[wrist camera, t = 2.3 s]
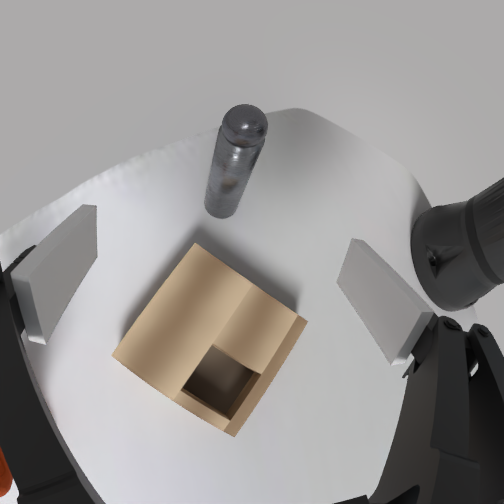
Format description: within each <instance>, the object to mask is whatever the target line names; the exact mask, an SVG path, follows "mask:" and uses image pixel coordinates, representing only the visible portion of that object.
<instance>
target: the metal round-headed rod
mask: <svg viewBox="0 0 504 504" xmlns="http://www.w3.org/2000/svg"><path fill="white" fill-rule="evenodd" d="M267 130H268V122H267V119H266V117H265V115H264V113H263V112H262V111H261V110H260V109H258V108H257V107H255V106H252V105H248V104H242V105H237V106H235V107H233V108H231V109H230V110H229V111H228V112H227V113H226V115H225V116H224V118H223V121H222V125H221V127H220V129H219V132H218V137H217V142H216V146H215V151H214V156H213V161H212V166H211V171H210V176H209V181H208V186H207V191H206V197H205V208H206V210H207V212H208V213H209V214H210V215H212V216H213V217H216V218H221V219H223V218H228V217H230V216H232V215H233V214H234V213H235V211H236V209H237V206H238V204H239V202H240V199H241V197H242V194H243V192H244V189H245V187H246V185H247V182H248V180H249V177H250V175H251V173H252V170H253V168H254V166H255V163H256V161H257V159H258V156H259V154H260V152H261V149H262V147H263V145H264V142H265V136H266V134H267Z"/></svg>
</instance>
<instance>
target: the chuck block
mask: <svg viewBox="0 0 504 504" xmlns="http://www.w3.org/2000/svg"><path fill="white" fill-rule="evenodd" d="M307 322H308V321H306V320H305V319H304V318H302V317H301V316H299V315H298V314H296V313H295V312H293V311H292V310H290V309H289V308H287V307H286V306H284V305H283V304H282V303H280V302H279V301H277V300H276V299H274V298H273V297H271V296H270V295H269V294H267V293H266V292H264V291H263V290H261V289H260V288H258V287H257V286H256V285H254V284H253V283H251V282H250V281H248V280H247V279H246V278H244V277H243V276H241V275H240V274H238V273H237V272H236V271H234V270H233V269H231V268H230V267H229V266H227V265H226V264H224V263H223V262H222V261H220V260H219V259H217V258H216V257H214V256H213V255H212V254H210V253H209V252H208V251H206V250H205V249H203V248H202V247H201V246H199V245H198V244H196V243H194V245H193V246H192V247H191V248H190V250H189V251H188V252H187V253H186V255H185V256H184V257H183V259H182V260H181V261H180V262H179V264H178V265H177V266H176V268H175V269H174V270H173V272H172V273H171V274H170V275H169V277H168V278H167V279H166V281H165V282H164V283H163V285H162V286H161V287H160V289H159V290H158V291H157V293H156V294H155V295H154V297H153V298H152V299H151V301H150V302H149V303H148V305H147V306H146V307H145V309H144V310H143V311H142V313H141V314H140V316H139V317H138V318H137V320H136V321H135V322H134V324H133V325H132V327H131V328H130V329H129V331H128V332H127V334H126V335H125V336H124V338H123V339H122V341H121V342H120V343H119V345H118V346H117V348H116V349H115V351H114V352H113V353H112V355H111V356H112V357H114V358H115V359H116V360H117V361H119V362H120V363H121V364H122V365H124V366H125V367H126V368H128V369H129V370H130V371H132V372H133V373H134V374H136V375H137V376H138V377H140V378H141V379H142V380H144V381H145V382H146V383H148V384H149V385H151V386H152V387H153V388H155V389H156V390H158V391H159V392H161V393H162V394H163V395H165V396H166V397H168V398H169V399H171V400H172V401H174V402H175V403H177V404H179V405H180V406H182V407H183V408H185V409H186V410H188V411H190V412H191V413H193V414H194V415H196V416H198V417H199V418H201V419H203V420H204V421H206V422H208V423H210V424H211V425H213V426H215V427H217V428H218V429H220V430H222V431H224V432H226V433H227V434H229V435H231V436H233V437H235V436H236V434H237V433H238V431H239V430H240V429H241V427H242V426H243V424H244V423H245V421H246V420H247V418H248V417H249V415H250V414H251V413H252V411H253V410H254V408H255V407H256V405H257V404H258V402H259V401H260V399H261V398H262V396H263V394H264V393H265V391H266V390H267V388H268V387H269V385H270V384H271V382H272V380H273V379H274V377H275V376H276V374H277V373H278V371H279V369H280V368H281V366H282V364H283V363H284V361H285V360H286V358H287V356H288V355H289V353H290V351H291V350H292V348H293V346H294V345H295V343H296V341H297V340H298V338H299V336H300V334H301V333H302V331H303V329H304V328H305V326H306V324H307Z"/></svg>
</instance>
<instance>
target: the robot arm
mask: <svg viewBox="0 0 504 504" xmlns="http://www.w3.org/2000/svg"><path fill="white" fill-rule="evenodd" d="M411 247H412V257H413V262H414V266H415V270H416V273H417V276H418V278H419V281H420V283H421V285H422V287H423V289H424V290H425V292H426V294H427V295H428V296H429V298H430V299H431V300H432V301H433V302H434V303H435V304H436V305H437V306H438V307H440V308H442V309H444V310H446V311H458V310H462V309H466V308H468V307H470V306H472V305H473V304H474V303H476V301H477V300H478V299H479V298H480V297H482V296H484V295H485V294H487V293H488V292H489V291H491V290H492V289H493V288H494V287H496V286H497V285H500V284H502V283H504V178H502V179H501V180H499V181H498V182H496V183H495V184H493V185H492V186H490V187H489V188H487V189H485V190H484V191H482V192H480V193H479V194H478V195H476V196H474V197H473V198H471V199H469V200H468V201H464V202H459V203H453V204H449V205H444V206H436V207H433V208H431V209H430V210H428V211H426V212H425V213H423V214H422V215H421V216H420V217H419V218H418V219H417V221H416V222H415V225H414V228H413V232H412V240H411ZM96 258H97V206H94V205H84V204H83V205H82V206H80V207H79V208H78V209H77V210H76V211H74V212H73V213H72V214H71V215H70V216H69V217H68V218H66V219H65V220H64V221H63V222H62V223H61V224H60V225H59V226H57V227H56V228H55V229H54V230H53V231H52V232H51V233H50V234H49V235H48V236H47V237H46V238H45V239H44V240H42V241H41V242H40V243H39V244H38V245H34V246H32V247H30V248H28V249H26V250H25V251H24V252H22V253H21V254H20V255H19V257H18V258H16V259H15V260H14V261H13V263H11V264H10V266H9V267H8V268H7V269H6V270H5V271H4V272H2V268H1V263H0V447H1V449H2V452H3V455H4V457H5V460H6V462H7V465H8V467H9V470H10V472H11V474H12V477H13V479H14V481H15V483H16V485H17V488H18V490H19V496H18V498H17V502H18V504H105V502H104V501H103V500H102V499H101V497H100V496H99V494H98V493H97V492H96V490H95V489H94V487H93V486H92V484H91V483H90V482H89V480H88V479H87V477H86V476H85V474H84V472H83V471H82V469H81V468H80V466H79V465H78V463H77V461H76V460H75V458H74V456H73V455H72V453H71V451H70V449H69V448H68V446H67V444H66V442H65V441H64V439H63V437H62V435H61V433H60V431H59V429H58V427H57V425H56V423H55V421H54V419H53V417H52V415H51V413H50V411H49V409H48V407H47V404H46V402H45V400H44V398H43V395H42V393H41V391H40V388H39V386H38V383H37V381H36V378H35V376H34V373H33V370H32V368H31V365H30V362H29V359H28V356H27V353H26V350H25V347H24V344H23V341H22V338H21V334H22V332H23V330H24V329H26V332H27V335H28V338H29V340H30V341H33V342H37V343H41V344H45V345H46V344H47V342H48V340H49V338H50V336H51V334H52V332H53V331H54V329H55V327H56V325H57V323H58V321H59V319H60V318H61V316H62V314H63V312H64V311H65V309H66V307H67V305H68V304H69V302H70V300H71V298H72V297H73V295H74V293H75V292H76V290H77V288H78V287H79V285H80V283H81V282H82V280H83V279H84V277H85V275H86V274H87V272H88V271H89V269H90V267H91V266H92V264H93V263H94V261H95V260H96ZM337 284H338V285H339V287H340V288H341V290H342V291H343V293H344V294H345V295H346V297H347V298H348V300H349V301H350V303H351V304H352V306H353V307H354V309H355V310H356V312H357V313H358V315H359V316H360V318H361V319H362V321H363V322H364V324H365V325H366V327H367V329H368V330H369V332H370V333H371V335H372V336H373V338H374V339H375V341H376V342H377V344H378V346H379V347H380V349H381V350H382V352H383V353H384V355H385V357H386V358H387V360H388V361H389V363H390V365H397V364H404V363H405V361H406V360H407V358H408V356H409V355H410V353H412V355H413V356H414V360H413V361H412V363H411V364H410V366H409V367H408V369H407V370H406V372H405V373H404V375H403V377H402V378H405V376H406V375H408V379H407V380H408V381H407V386H406V390H405V395H404V400H403V404H402V408H401V412H400V416H399V420H398V424H397V428H396V432H395V435H394V439H393V442H392V445H391V449H390V452H389V455H388V458H387V461H386V464H385V467H384V470H383V473H382V476H381V478H380V481H379V484H378V486H377V488H376V490H375V492H374V493H373V495H372V496H371V497H370V498H369V499H368V498H367V496H366V495H363V496H360V497H357V498H353V499H349V500H346V501H342V502H338V503H334V504H504V357H503V355H502V353H501V351H500V349H499V347H498V345H497V343H496V341H495V339H494V337H493V335H492V334H491V332H490V331H489V330H488V328H487V327H485V326H483V325H480V324H476V323H475V324H473V325H472V327H471V329H470V330H469V332H465V331H463V330H462V327H461V326H460V325H459V324H458V323H457V322H456V321H455V320H454V319H451V318H449V317H446V316H440V317H438V316H437V315H436V314H435V313H434V311H433V310H432V309H431V308H430V307H429V305H428V304H427V303H426V302H425V301H424V300H423V299H422V298H421V297H420V296H419V295H418V294H417V293H416V292H415V291H414V290H413V289H412V288H411V287H410V286H409V284H408V283H407V282H406V281H405V280H404V279H403V278H402V277H401V276H400V275H399V274H398V273H397V272H396V271H395V270H394V269H393V268H392V267H391V266H390V265H389V264H388V263H387V262H386V261H384V260H383V259H382V258H381V257H380V256H379V255H378V254H377V253H376V252H375V251H374V250H373V249H372V248H371V247H370V246H369V245H368V244H367V243H366V242H365V241H364V240H358V239H351V242H350V245H349V248H348V251H347V254H346V257H345V260H344V263H343V266H342V268H341V271H340V274H339V277H338V280H337ZM477 363H478V370H477V371H476V372H475V374H474V375H473V376H471V374H470V372H471V371H472V370H473V368H474V367H475V365H476V364H477Z"/></svg>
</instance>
